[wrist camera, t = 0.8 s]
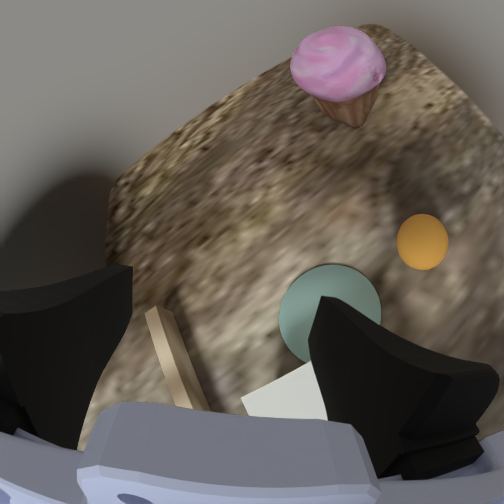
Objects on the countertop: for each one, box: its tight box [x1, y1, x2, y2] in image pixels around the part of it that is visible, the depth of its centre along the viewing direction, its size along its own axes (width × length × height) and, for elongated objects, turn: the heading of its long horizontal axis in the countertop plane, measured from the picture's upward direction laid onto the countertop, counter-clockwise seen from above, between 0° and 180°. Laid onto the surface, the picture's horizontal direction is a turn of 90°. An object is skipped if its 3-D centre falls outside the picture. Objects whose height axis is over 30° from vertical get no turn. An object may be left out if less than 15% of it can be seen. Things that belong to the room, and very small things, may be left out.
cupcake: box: [290, 26, 386, 128], centre depth 24 cm, size 9×9×10 cm
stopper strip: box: [145, 306, 212, 412], centre depth 23 cm, size 16×2×2 cm, turn 28°
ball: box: [397, 214, 448, 270], centre depth 19 cm, size 4×4×4 cm
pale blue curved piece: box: [279, 265, 381, 363], centre depth 22 cm, size 8×8×1 cm
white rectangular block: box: [241, 361, 328, 421], centre depth 17 cm, size 6×9×6 cm, turn 118°
